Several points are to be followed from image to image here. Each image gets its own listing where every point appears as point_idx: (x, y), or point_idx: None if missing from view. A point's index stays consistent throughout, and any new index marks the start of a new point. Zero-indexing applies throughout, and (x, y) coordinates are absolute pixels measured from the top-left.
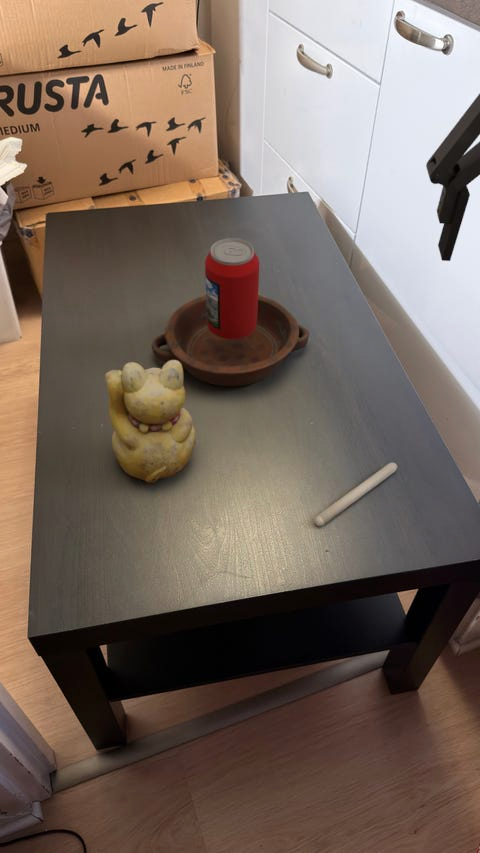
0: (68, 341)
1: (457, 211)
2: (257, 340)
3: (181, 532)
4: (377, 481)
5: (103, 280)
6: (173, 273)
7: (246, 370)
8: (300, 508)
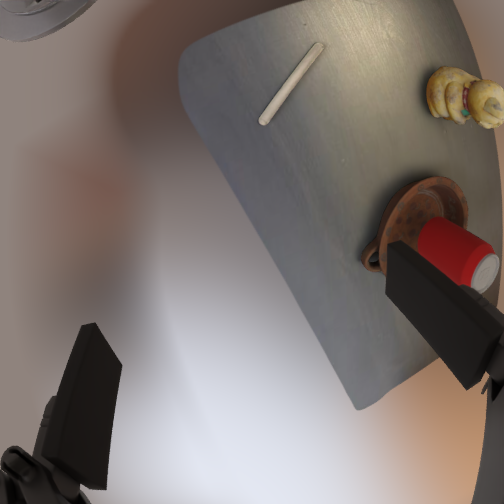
0: (494, 202)
1: (473, 302)
2: None
3: (407, 33)
4: (276, 96)
5: None
6: None
7: (418, 185)
8: (335, 60)
